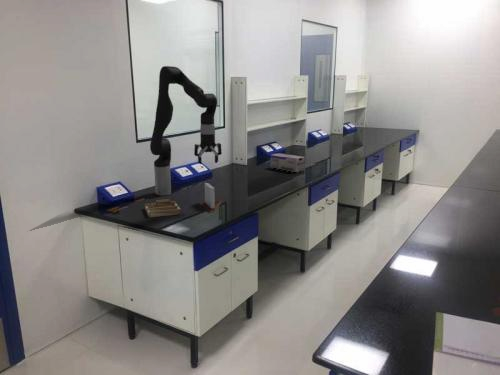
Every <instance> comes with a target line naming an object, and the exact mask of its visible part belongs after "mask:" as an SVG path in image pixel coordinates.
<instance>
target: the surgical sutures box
mask: <svg viewBox="0 0 500 375" xmlns="http://www.w3.org/2000/svg"><path fill="white" fill-rule="evenodd" d="M269 161H270V163H269V164H270V165H269V167H273V168H278V169H283V170H287V171H286V172H288V171H291V172H290V173H293V172H298V173H300V172H299V171H302V172H304V171H303V170H305V164H306V162H305V161H306V157H305V156H299V155H296V154H295V155H294V154H287V153H281V152H278V153H273V154H270V159H269ZM273 168H272V169H273ZM278 169H277V170H278ZM283 170H282V171H283Z"/></svg>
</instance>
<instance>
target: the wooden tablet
mask: <svg viewBox="0 0 500 375" xmlns="http://www.w3.org/2000/svg"><path fill="white" fill-rule="evenodd" d="M222 202H223V199H215V208H212V209H211V208H210V207H209V206H208V205H207V204H206V203H205V200H204V201H203V202H202V203H201V205H200V206H201V207H202V209H204V210H205V211H206V212H207V213H208V214H211V213H214V212H215V211H216V210H217V209H218V208H219V207H220V205H221V203H222Z"/></svg>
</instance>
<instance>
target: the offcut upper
mask: <svg viewBox="0 0 500 375" xmlns="http://www.w3.org/2000/svg"><path fill="white" fill-rule="evenodd" d="M171 202H172V201H171V199H169V198H166V199H157V200H155V203H156V206H157V207H159V206H167V205H171Z"/></svg>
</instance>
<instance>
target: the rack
mask: <svg viewBox="0 0 500 375" xmlns="http://www.w3.org/2000/svg"><path fill="white" fill-rule="evenodd" d="M155 204H156V202H154V203H153V202H152V203H145V204H144V210H145V211H146V215H147V216H148V218H156V217H167V216H175V215H182V208H180V206H179V205H178V204H177V202H176V201H175V200H174V201H173V200H172V201H171V205H172V206H166V207H156V208H151V205H155Z"/></svg>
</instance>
